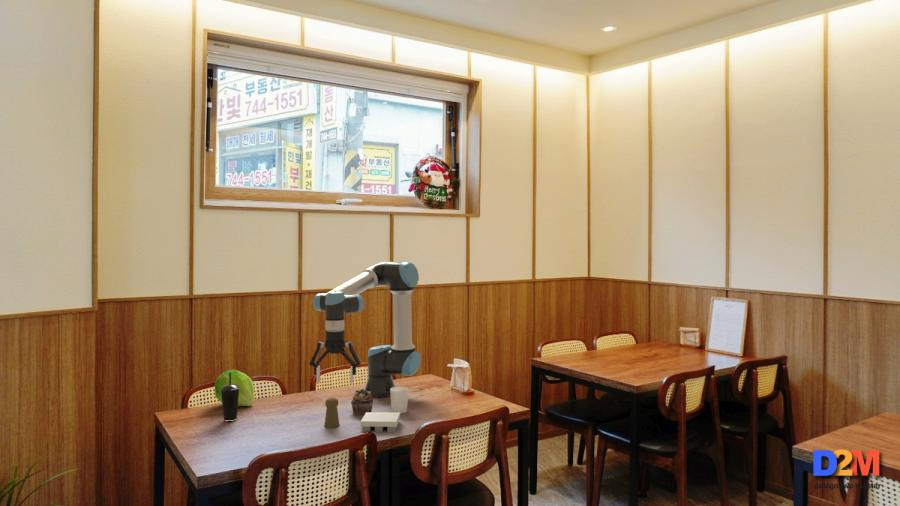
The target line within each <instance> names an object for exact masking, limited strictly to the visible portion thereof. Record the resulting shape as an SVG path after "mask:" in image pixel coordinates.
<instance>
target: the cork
mask: <svg viewBox="0 0 900 506" xmlns="http://www.w3.org/2000/svg"><path fill="white" fill-rule="evenodd" d="M324 404H325V407H326V410H325V418H324V426H323V427H324V428H328V429H335V428H338V427H340V426H341V425H340V419H339V412H338V405H339V399H338V398H336V397H329V398H327V399H326V400H325V402H324Z"/></svg>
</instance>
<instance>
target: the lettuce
mask: <svg viewBox="0 0 900 506" xmlns="http://www.w3.org/2000/svg"><path fill="white" fill-rule="evenodd" d="M229 372H231V384H232V385H237V386H240V389H239V397H238V407H251V406H252V405H253V404H254V402H255V388H254V383H253V380H252V378H250V377H249V376H248V375H247V374H246V373H244V372H242V371H239V370H236V369H230V370H226V371H224V372H222V373H220V375H219V376H218V377H217V379H216V381H215V382H214V383H215V384H214V395H215V396H214V397H215V398H216V399H218V401H219V402H220V403H221V404H222V395H221V390H220V388H222V387H224V386H226V385H229Z"/></svg>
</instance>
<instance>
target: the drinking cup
mask: <svg viewBox="0 0 900 506" xmlns="http://www.w3.org/2000/svg"><path fill="white" fill-rule="evenodd" d="M239 389H240V386H237V385H232V384H231V372H229V385H226V386H224V387H222V388H220V390H221V395H222V403H221V404H222V413H223V421H224V420H234V419H238V408H239V406H238V397H239Z"/></svg>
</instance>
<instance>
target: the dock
mask: <svg viewBox="0 0 900 506" xmlns="http://www.w3.org/2000/svg"><path fill="white" fill-rule="evenodd" d="M400 418H401V414H400V412H392V411H390V412H389V411H388V412H385V411H384V412H381V411H380V412H379V411H378V412H375V411H374V412H373V411H371V412H366V413H365V415H363V416H362V419H361V421H360V427H361V431H362V432H364V433H365V432H367V431H370V432H371V430H372V429H373V427H374V432H377V433H379V432H383V431H384V430H385V428H387V432H388V433H391V432H392V433H395V432H396V430H397V428H398V425H399V423H400Z"/></svg>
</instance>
